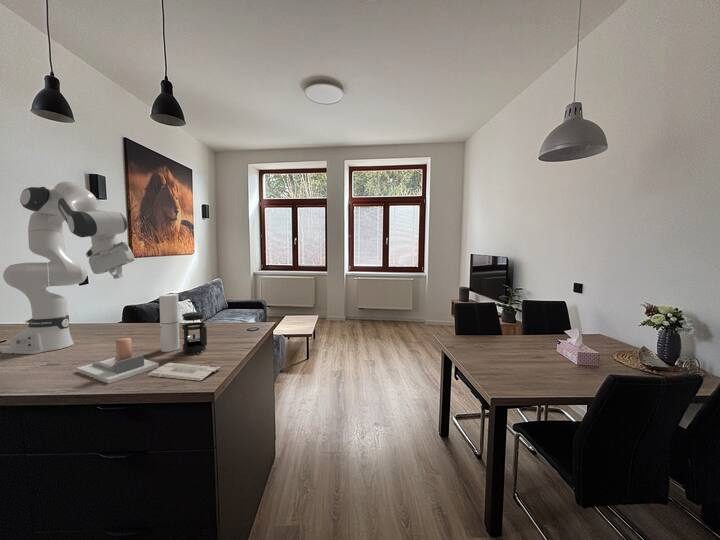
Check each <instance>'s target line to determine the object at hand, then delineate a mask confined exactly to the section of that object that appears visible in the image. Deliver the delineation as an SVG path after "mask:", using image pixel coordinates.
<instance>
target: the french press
mask: <svg viewBox="0 0 720 540" xmlns="http://www.w3.org/2000/svg"><path fill="white" fill-rule="evenodd" d="M187 302H188V303H192V304H191V305H192V312H186V313H183V314H181V316H182V320H183V321H185V322H186V321H187V322H188V323H183V324H182V326H181V329H182V330H183V338H182V339H183V343H182V352H181V353H182V354H183V353H184V354H183V355H194V354H193V353H197V352H201V351H203V350H205V349H206V350H207V347H206V346H207V345H208V343H207V342H208V339H207V338H208V336H207V335H208V334H207V333H208V331H207V329H208V328H207V325H206V323H205V322H199V320H203V319H204V318H205V314H206V313H205V312H203V311H195V305H196V304H195V303H197V302H198V303H199V300H198V299H190V300H188V301H187ZM189 321H190V322H189ZM191 321H193V322H191ZM197 321H198V322H197ZM196 330H199V334H197V333H196V334H195V332H193V334H191V335H190V334H189V331H196ZM206 350H205V351H206ZM201 353H202V352H201ZM197 354H198V353H197Z"/></svg>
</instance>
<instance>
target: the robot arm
mask: <svg viewBox="0 0 720 540" xmlns="http://www.w3.org/2000/svg"><path fill="white" fill-rule="evenodd" d="M19 200H20V204H21V205H22V207H23V208H24V209H25V210H29V211H31V212H32V213H31V214H30V216H29V217H30V218H29V221H28V226H27V227H28V228H27V229H28V230H27V236H28V237H27V238H28V239H27V240H28V249H29V250H30V252H32V254H35V255H36V256H41V257H43V258H46V259H48V260H49V261H48V262H46V261H45V262H22V263H16V264H14V263H13V264H10V265H8V266H7V267H6V268H4V270H3V273H2V274H3V275H2V278H3V280H4V282H5V283H6V284H7V285H9V286H10V287H12V288H14V289H17V290H18V291H20V292H21V293H23V294H24V295H25V296H26V298H27V299H28V301H29V303H30V308H31V318H30V319H28V320H26V321H25V324H27V327H26V328H24V329H23V330H21V331H20V332H18V333H16V334H15V335H14V336H12V337H11V339H10V342H9V346H8V347H7V348H4V349H2V350H1V354H12V353H14V354H17V355H19V354H20V355H21V354H22V355H24V354H25V355H35V354H41V353H45V352H50V351H56V350H60V349H64V348H65V349H66V348H68V347H71V346H74V344H75V343H74V341H73V337H72V336H71V332H70V327H69V326H70V316H69V314H68V300H67V299H66V297H64V296H63V295H60V294H57V293H55V292H54V293H53V292H49V291H48V290H47V288H49V287H63V286H64V287H67V286H75V285H78V284H82V283H83V282H85V280H86V279H87V277H88V270H87V268H86V267H85V266H84V264H82V263H80V262H78V261H77V260H74V258H72V257H71V256H70V255H69V254H68V252H67V251H66V247H65V239H64V229H63V223H64V222H66V224H67V227H68V229H69V231H70V233H72V234H73V235H74V236H75V237H79V238H88V237H90V239H91V242H90V243H91V245H92V246H91V247H90V248H89V249H88V251H86V253H85V256H86V258H88V263H89V266H90V270H91V272H92V273H93V274H94V275H101V274H105V273H107V272H108V273H109V274H110V275H111V276H112V278H113V279H114V280H117V279H120V278H123V274H122V273H123V266H125V265H127V264H130V263H133V262H134V261H135V255H134V254H133V251H132V249H131V248H130V247H129V245H128V243H127V242H125V241H119V238H117V235H120V234H123V233H125V232H126V230H127V229H128V226H129V225H128V224H129V223H128V221H127V218H126V217H125V215H123V214H122V213H121V212H119V211H113V210H112V211H105V210H104V209H99V208H98V209H97V207H98V199H97V198H96V196H95V195H94V194H93V193H92V192H91V191H89V189H87V188H85V187H84V186H82V185H79V184H77V183H75V182H72V181H61V182H58V183H57V184H56V185H55V186H54V188H53V189H49V188H47V187H46V186H38V187H36V186H32V187H31V186H30V187H26V188H25V189H23V190H22V191H21V194H20V198H19Z"/></svg>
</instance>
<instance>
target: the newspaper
mask: <svg viewBox="0 0 720 540" xmlns="http://www.w3.org/2000/svg"><path fill="white" fill-rule="evenodd" d="M210 366H211V365H201V366H200V364H189V363H188V364H186V363H175V362H167V363H165V364H163V365H160V366H159V367H158V368H155V369H153V370H151V372H149V373H148V374H147V377H151V376H154V378H160V377H166V378H165V379H169V378H176V379H175V380H179V379H192V380H202V381H203V380H204V379H205V378H206V377H208V376H209V375H210V374H213V373H212V372H213V371H215V370H216V369H220V370H221V369H222V367H221V366H216V367H210ZM220 367H221V368H220Z"/></svg>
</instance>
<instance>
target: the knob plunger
mask: <svg viewBox="0 0 720 540" xmlns="http://www.w3.org/2000/svg"><path fill="white" fill-rule="evenodd" d="M115 346H116V349H115V350H116V351H115V352H116V355H115V356H117V361H121V360H124V359H128V358H131V357H132V356H133V351H132V350H133V348H132V346H133V345H132V337H123V338H118V339H115ZM113 367H115V364H113Z"/></svg>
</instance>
